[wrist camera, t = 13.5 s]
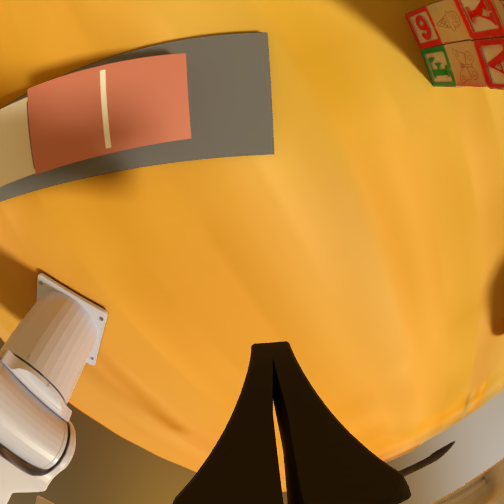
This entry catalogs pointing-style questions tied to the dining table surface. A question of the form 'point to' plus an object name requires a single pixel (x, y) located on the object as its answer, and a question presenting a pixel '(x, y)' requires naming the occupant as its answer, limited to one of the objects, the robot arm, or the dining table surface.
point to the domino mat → (192, 110)
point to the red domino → (108, 110)
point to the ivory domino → (15, 143)
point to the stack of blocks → (462, 42)
